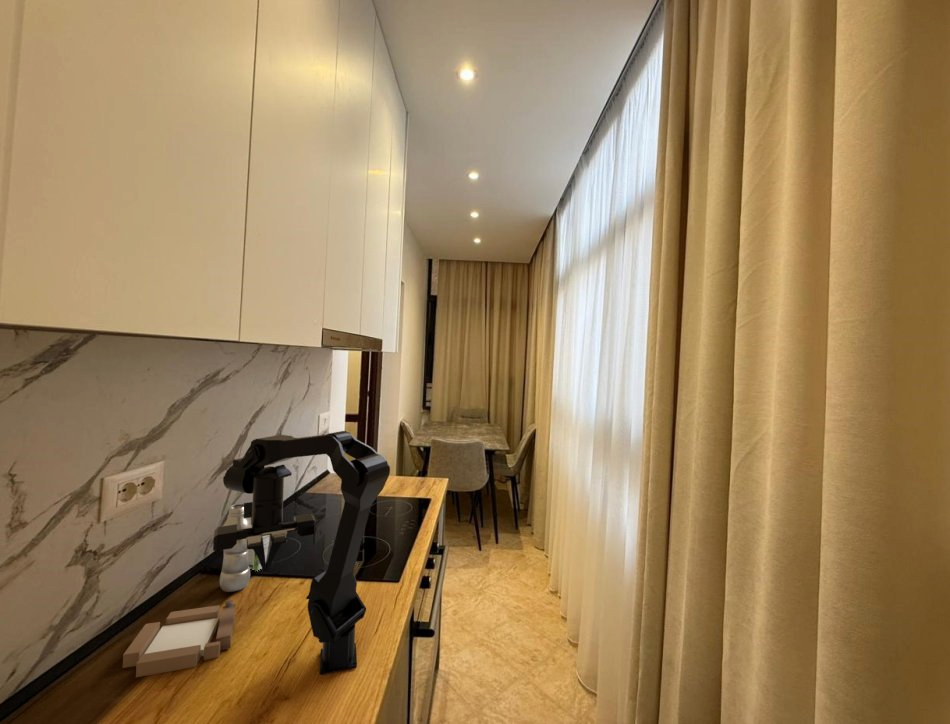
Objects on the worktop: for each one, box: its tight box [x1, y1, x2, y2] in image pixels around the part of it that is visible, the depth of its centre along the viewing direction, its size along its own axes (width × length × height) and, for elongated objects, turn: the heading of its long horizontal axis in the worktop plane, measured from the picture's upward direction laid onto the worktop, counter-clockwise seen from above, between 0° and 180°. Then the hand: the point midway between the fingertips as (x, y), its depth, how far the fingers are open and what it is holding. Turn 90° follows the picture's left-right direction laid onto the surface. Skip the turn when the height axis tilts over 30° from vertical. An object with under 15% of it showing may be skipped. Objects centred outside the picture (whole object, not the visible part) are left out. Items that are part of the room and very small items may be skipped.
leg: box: [215, 599, 236, 651], centre depth 83 cm, size 12×2×3 cm, turn 26°
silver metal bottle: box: [219, 503, 252, 593], centre depth 99 cm, size 6×7×20 cm
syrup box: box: [248, 518, 270, 572], centre depth 110 cm, size 6×6×14 cm
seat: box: [122, 604, 221, 678], centre depth 79 cm, size 15×15×2 cm
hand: (265, 571), depth 84 cm, fingers closed
